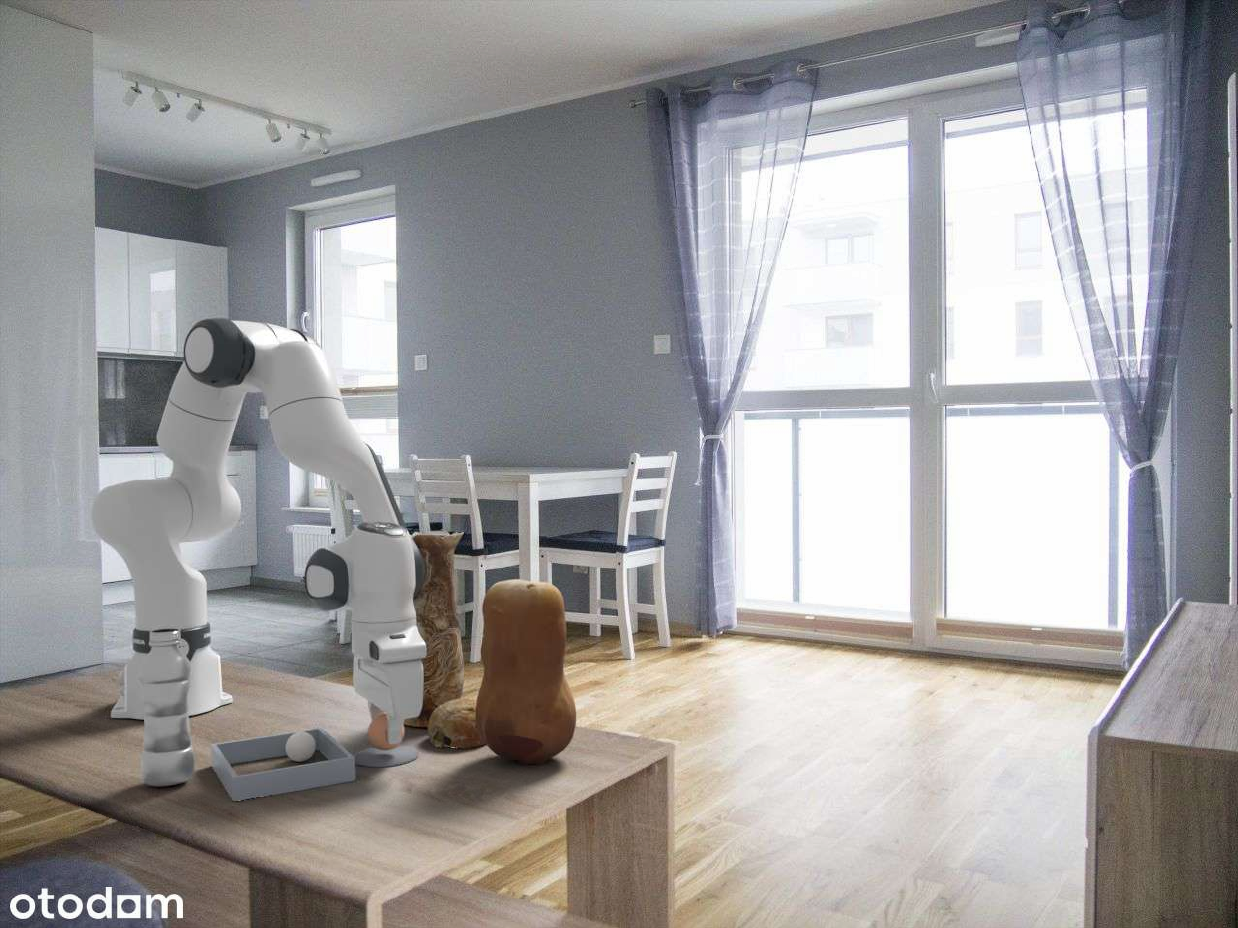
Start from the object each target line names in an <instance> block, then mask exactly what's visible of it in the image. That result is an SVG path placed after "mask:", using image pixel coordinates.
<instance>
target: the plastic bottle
mask: <svg viewBox="0 0 1238 928" xmlns="http://www.w3.org/2000/svg"><path fill="white" fill-rule="evenodd" d="M179 644H181V639H180V629H178V628H163V629H156V630H152V631H150V642H149V646H152V648H151V651H150V652H149V654H148V655H147V656H146V658H145V659H144V661H143V663H142V664H141V666H140V669H139V673H138V676H139V681H140V682H139V683H140V689H141V695H142V700H143V711H144V715H145V716H144V719H143V720H144V721H143V722H144V727H143V728H144V729H143V730H144V731H143V741H142V742H143V744H142V751H141V756H140V763H139V769H140V771H139V772H140V775H141V779H142V781H144V783H145V784H146V786H147V785H148V786H151V787H169V786H174V785H178V784H182V783H185V782H187V781H188V780H190V778H191V777H192V775H193V773H194V771H195V763H196V758H195V750H194V748H193V745H192V737H191V729H190V719H189V718H190V716H189V712H188V709H189V695H190V687H191V679H192V678H191V676H192V666H191V663H190V661H189V660H188V658H187V657H186V655H185V654H184V653H183V652H182V651H181V649H180V648H179Z"/></svg>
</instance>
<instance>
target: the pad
mask: <svg viewBox="0 0 1238 928" xmlns="http://www.w3.org/2000/svg"><path fill="white" fill-rule="evenodd" d="M419 752H420V751H419V750H418V749H417V748H414V747H411V746H405V745H398V746H397V747H395V748H394V749H391V750H386V751H384V750H379V749H377V748H375V747H371V748H367V749H364V750H361V751H359V752H357V753H355V754H354V755H353V756H354V757H355V765H358V766H360V767H365V768H390V767H397V766H401V765H400V764H402V765H405V763H406V764H409V763H412V762H413V761H415V760H417V759H418V758H419V756H420V755H419V754H420V753H419ZM418 755H419V756H418ZM417 757H418V758H417ZM416 758H417V759H416ZM414 759H415V760H414ZM408 762H409V763H408Z"/></svg>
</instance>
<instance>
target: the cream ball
mask: <svg viewBox="0 0 1238 928" xmlns="http://www.w3.org/2000/svg"><path fill="white" fill-rule="evenodd" d="M315 748H316V743H315V740H314V738H313V736H312V735H310V734H309V733H306V732H297V733H295V734H293V735H292V736H291V737H290V738H289V739H288V741H287V743H286V753H287V755H286V756H288V758H289V759H290V760H292V761H294V762H300V763H301V762H305V761H308V760H309V759H310V758H311V757H312V756H313V755H314V754H315V751H316V750H315Z"/></svg>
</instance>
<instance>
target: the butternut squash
mask: <svg viewBox="0 0 1238 928" xmlns="http://www.w3.org/2000/svg"><path fill="white" fill-rule="evenodd" d="M481 610H482V611H481V612H482V617H483V629H482V630H483V631H482V634H483V637H482V642H481V645H480V656H481V660H482V663H483V668H484V669H483V677H482V681H481V684H480V686H479V690H478V692H477V693H478V694H477V697H476V701H477V702H476V712H475V719H476V724H475V727H476V729H477V730H478V732H479V734H480V735H481V737H482V739H483V740H484V742H485V744H486V745H485V746H486V747H488V749H490V750H491V751H492V752H493V753H494V754H495V755H497V756H498V757H500V758H505V759H508V760H509V759H510V760H514V761H515V760H516V761H518V762H519V763H521V764H522V765H525V766H527V765H536V764H537V765H538V764H539V765H542V764H543V763H545V761H547V760H549V759H552V758H553V757H556V756H558V755H559V754H560V753H561V752H564V750H565V749H566V748H567V747H568V746H569V744H570V743H571V741H572V740H573V737H574V734H575V730H576V726H577V709H576V703H575V700H574V696H573V693H572V690H571V688H570V685H569V683H568V680H567V678H566V675H565V672H564V661H565V660H564V659H565V652H566V648H567V647H566V646H567V623H566V621H567V620H566V612H565V611H566V610H565V602H564V597H563V595H562V592H561V591H560V590H559V589H558V587H556V586H555V584H552V583H550V582H545V581H541V582H540V581H539V582H538V581H530V580H525V579H520V578H518V579H516V578H515V579H506V580H502V581H498V582H496V583H494V584H493V585H492V586H491V587H489V589H488V591H486V593H485V595H484V598H483V602H482V605H481Z"/></svg>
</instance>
